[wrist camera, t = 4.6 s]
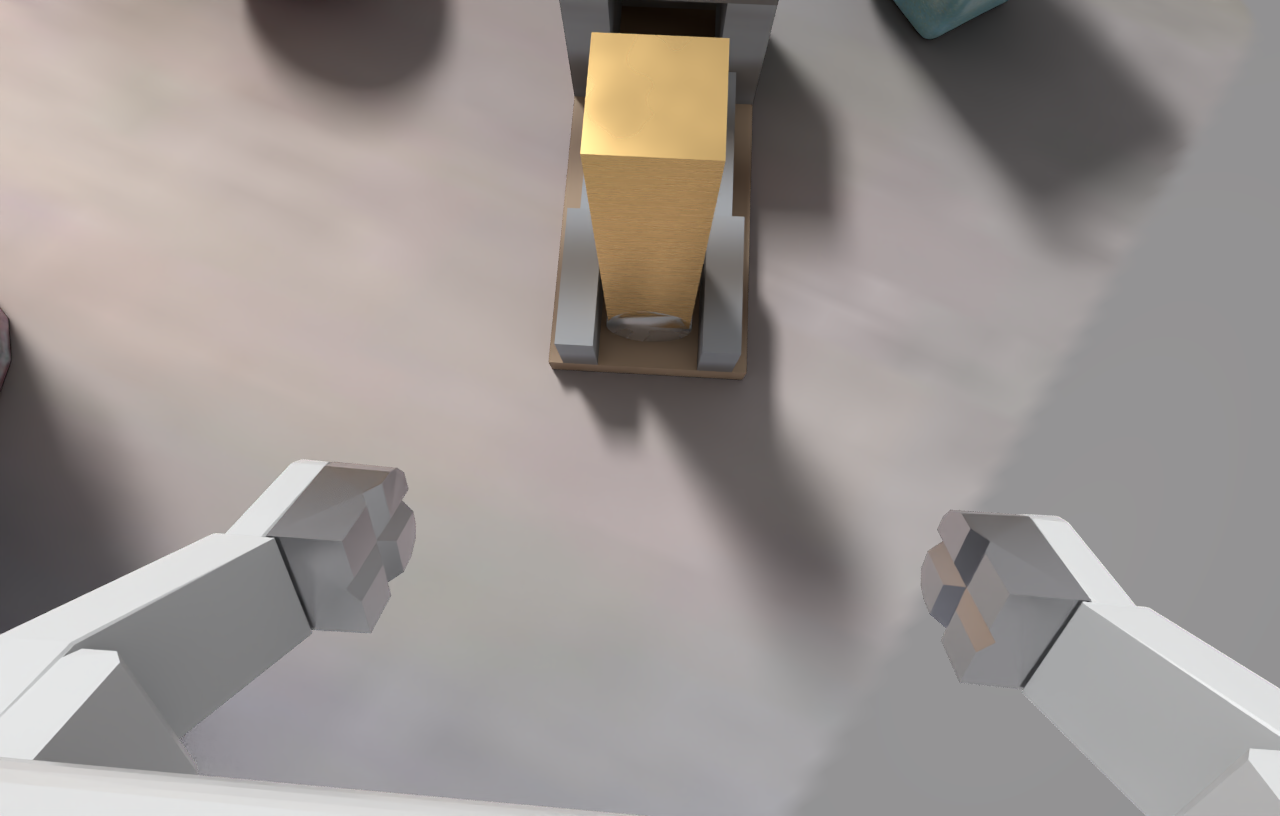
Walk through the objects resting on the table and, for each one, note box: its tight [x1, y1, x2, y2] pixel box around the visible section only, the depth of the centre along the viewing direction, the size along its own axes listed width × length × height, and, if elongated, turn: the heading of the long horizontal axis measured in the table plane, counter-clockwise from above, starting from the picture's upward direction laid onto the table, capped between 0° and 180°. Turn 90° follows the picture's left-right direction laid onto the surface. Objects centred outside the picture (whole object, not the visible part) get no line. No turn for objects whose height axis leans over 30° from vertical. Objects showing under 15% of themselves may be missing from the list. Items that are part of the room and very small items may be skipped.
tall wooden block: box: [580, 32, 730, 342], centre depth 19 cm, size 10×3×12 cm, turn 177°
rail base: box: [549, 0, 779, 380], centre depth 23 cm, size 18×8×7 cm, turn 177°
